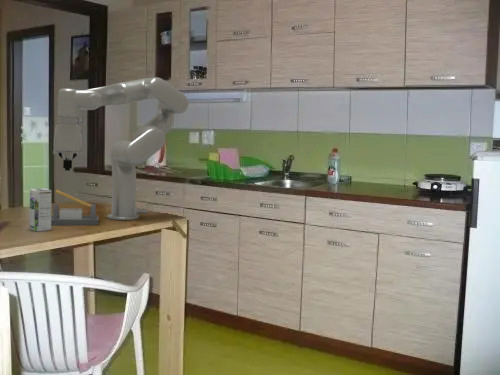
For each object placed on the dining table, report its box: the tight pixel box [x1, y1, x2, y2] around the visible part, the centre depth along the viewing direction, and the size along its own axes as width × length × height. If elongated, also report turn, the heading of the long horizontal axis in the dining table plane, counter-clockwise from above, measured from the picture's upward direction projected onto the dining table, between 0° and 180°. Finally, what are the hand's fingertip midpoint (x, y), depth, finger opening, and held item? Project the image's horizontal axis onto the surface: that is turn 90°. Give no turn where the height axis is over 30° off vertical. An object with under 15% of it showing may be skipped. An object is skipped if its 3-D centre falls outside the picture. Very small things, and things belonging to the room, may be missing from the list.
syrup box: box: [29, 187, 52, 232], centre depth 189 cm, size 6×6×14 cm
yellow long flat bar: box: [54, 188, 94, 208], centre depth 204 cm, size 16×3×1 cm, turn 107°
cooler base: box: [51, 203, 99, 226], centre depth 205 cm, size 18×10×7 cm, turn 106°
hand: (67, 170), depth 204 cm, fingers closed
